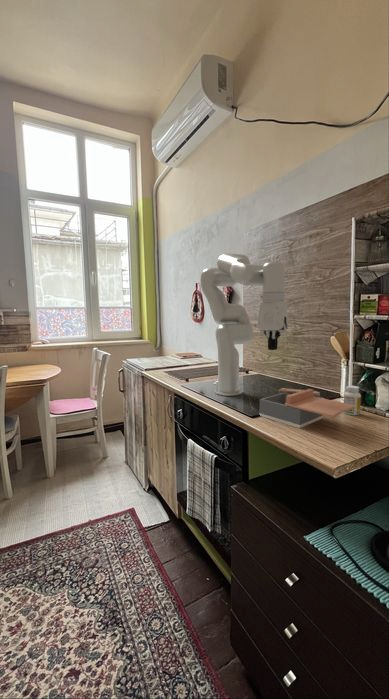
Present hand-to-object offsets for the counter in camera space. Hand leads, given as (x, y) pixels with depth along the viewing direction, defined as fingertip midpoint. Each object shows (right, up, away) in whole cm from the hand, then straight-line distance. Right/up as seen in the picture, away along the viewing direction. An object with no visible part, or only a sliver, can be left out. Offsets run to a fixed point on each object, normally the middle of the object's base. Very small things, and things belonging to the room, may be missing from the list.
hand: (272, 349), depth 112 cm
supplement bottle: (+28, -23, 0) cm, 37 cm away
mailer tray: (+5, -24, -4) cm, 24 cm away
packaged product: (+16, -22, +17) cm, 32 cm away
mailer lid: (+12, -18, -12) cm, 25 cm away
